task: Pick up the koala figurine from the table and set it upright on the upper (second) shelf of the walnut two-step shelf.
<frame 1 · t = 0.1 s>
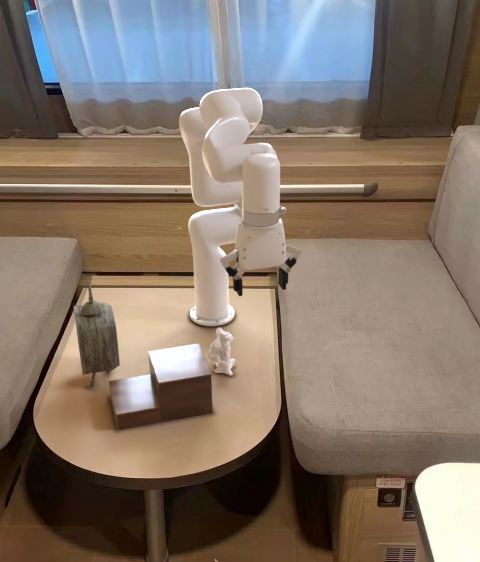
hand: (260, 290, 161), 31 cm above the table, tool pointing down, fingers open, 9 cm apart
step shelf: (160, 404, 178), on the table
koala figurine: (223, 370, 190), on the table
spike-topped wooden block: (100, 374, 190), on the table
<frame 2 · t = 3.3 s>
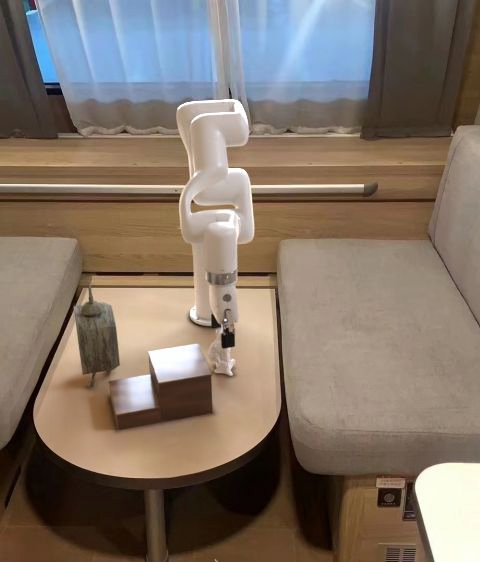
hand: (222, 337, 185), 10 cm above the table, tool pointing down, fingers open, 9 cm apart
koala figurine: (223, 370, 190), on the table, touching gripper
everything else where it was.
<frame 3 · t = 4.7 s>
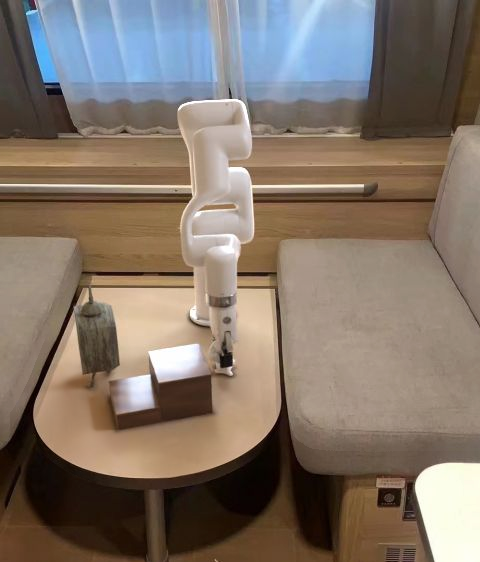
hand: (222, 358, 189), 3 cm above the table, tool pointing down, fingers closed on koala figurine, 5 cm apart
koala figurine: (223, 370, 190), on the table, touching gripper
everything else where it was.
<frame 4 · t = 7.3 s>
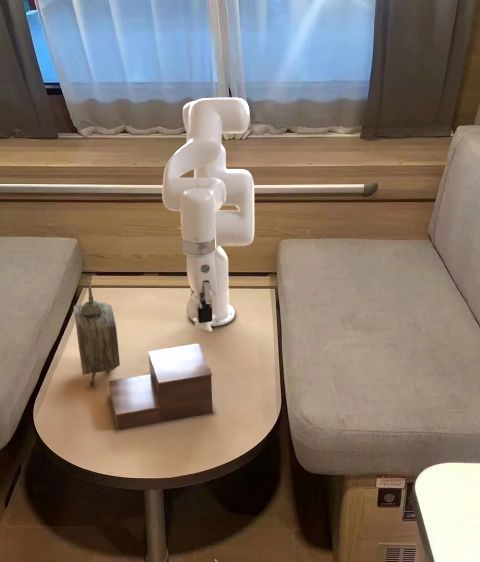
hand: (201, 314, 176), 20 cm above the table, tool pointing down, fingers closed on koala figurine, 5 cm apart
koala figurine: (202, 326, 176), point 17 cm above the table, touching gripper
everything else where it was.
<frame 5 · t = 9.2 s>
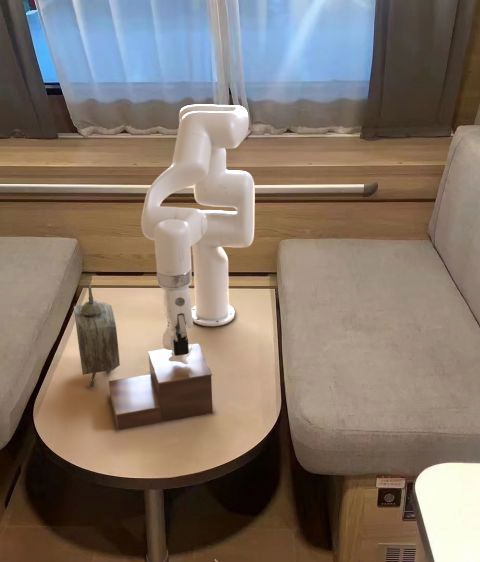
hand: (178, 345, 172), 15 cm above the table, tool pointing down, fingers closed on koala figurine, 5 cm apart
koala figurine: (179, 358, 173), point 12 cm above the table, touching gripper
everything else where it was.
when the fingers open (14 cm above the table, at t = 10.2 s): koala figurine stays where it is, resting on step shelf.
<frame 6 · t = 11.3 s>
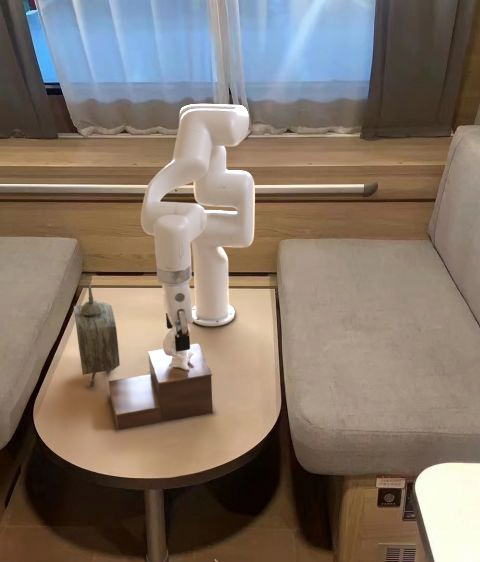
hand: (178, 338, 171), 17 cm above the table, tool pointing down, fingers open, 9 cm apart
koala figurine: (179, 364, 173), point 11 cm above the table, touching gripper, step shelf
everything else where it was.
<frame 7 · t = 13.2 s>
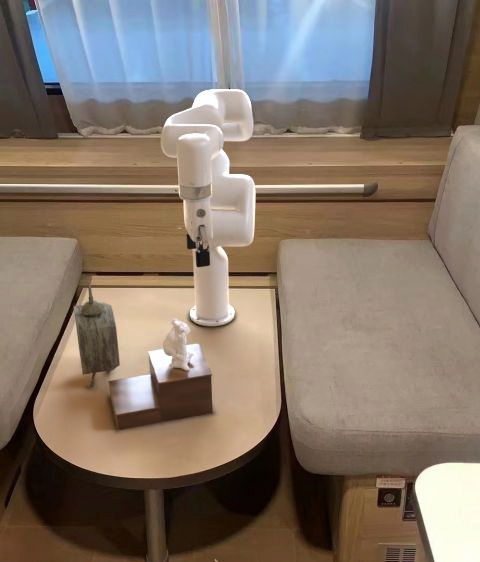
hand: (198, 257, 179), 30 cm above the table, tool pointing down, fingers open, 9 cm apart
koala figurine: (179, 364, 173), point 11 cm above the table, touching step shelf
everything else where it was.
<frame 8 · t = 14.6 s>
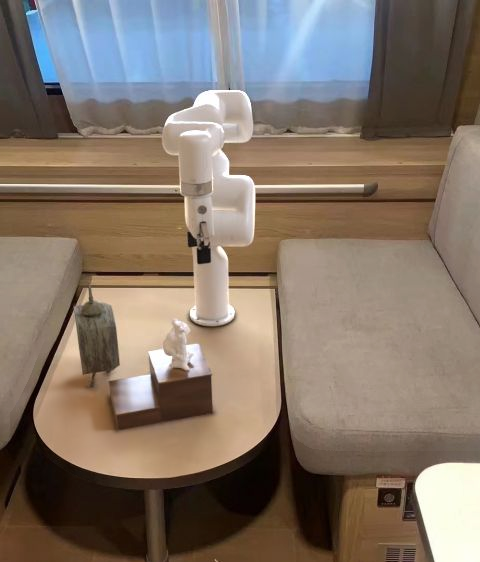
hand: (199, 254, 180), 30 cm above the table, tool pointing down, fingers open, 9 cm apart
nothing on the table moved.
at the end: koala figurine inside the target area on the step shelf (1.0 cm from its centre), point 10.8 cm above the step shelf's base; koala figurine tilted 0°; the gripper is holding nothing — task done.
